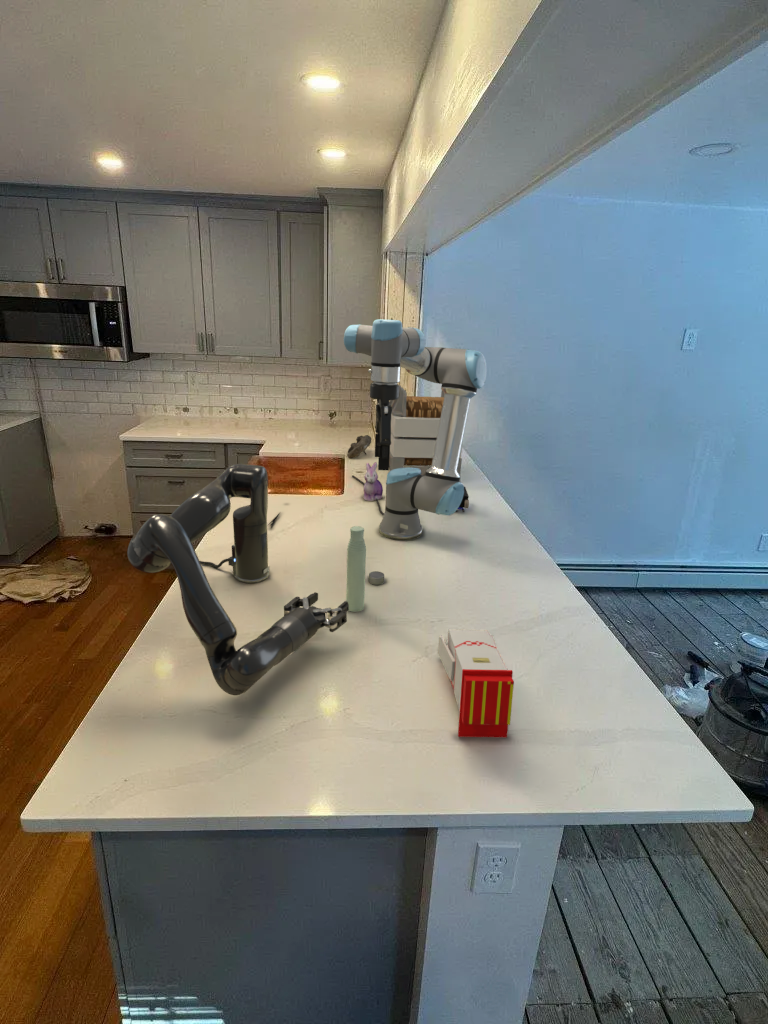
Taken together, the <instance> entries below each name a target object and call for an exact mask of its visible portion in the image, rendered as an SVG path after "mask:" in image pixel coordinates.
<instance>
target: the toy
mask: <svg viewBox="0 0 768 1024" xmlns="http://www.w3.org/2000/svg"><path fill="white" fill-rule="evenodd" d="M446 640H447V643H446V641H445V639H444V636H443V635H442V634H439V637H438V646H437V656H438V657H439V659H440V661H441V663H442V666H443V668H444V670H445V672H446V674H447V677H448V679H449V681H450V684H451V687H452V690H453V693H454V697H455V701H456V705H457V708H458V711H459V714H458V715H459V716H458V730H457V731H458V732H457V737H458V738H508V731H509V726H510V725H511V717H512V707H513V697H514V696H513V695H514V684H515V680H514V679H513V673H514V671H513V670H512V669H508V667H507V665H506V662H505V661H504V659H503V658H502V655H501V653H500V651H499V649H498V647H497V643H496V639H495V637H494V635H493V634H491V632H490V631H489V629H467V628H466V629H465V628H463V629H461V628H460V629H459V628H448V630H447V639H446Z"/></svg>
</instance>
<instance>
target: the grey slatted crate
mask: <svg viewBox="0 0 768 1024" xmlns="http://www.w3.org/2000/svg"><path fill="white" fill-rule="evenodd" d="M398 385H399V384H398ZM440 393H441V394H440V396H415V395H414V396H413V395H412V396H411V395H407V394H408V393H407V390H406V389H404V388H403V387H402V385H399V398H398V399H396V400H390V401H389V405H391V407H392V413H391V445H390V456H389V472H390V471H391V470H393V469H397V468H405V466H406V467H409V466H411V467H415V466H416V467H417V466H418V467H431V466H432V460H433V455H434V449H435V444H436V439H437V433H438V428H439V422H440V417H441V412H442V406H443V401H444V392H443V391H442V390H441V392H440ZM463 442H464V440H463V441H462V444H463ZM462 453H463V445H462V446H461V452H460V457H459V462H458V467H457V472H458V474H459V476H460V477H461V472H462V461H463V460H462ZM459 482H461V480H460V481H459Z"/></svg>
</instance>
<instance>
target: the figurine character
mask: <svg viewBox="0 0 768 1024" xmlns="http://www.w3.org/2000/svg"><path fill="white" fill-rule="evenodd" d="M469 498H470V496H469V494H468V491H467V488H466V486H464V495H463V499H462V501H461V504H460V506H459V507H458V509H457V510H456V511H455V513H458V510H461V511H462V513H465V509H469V506H470V500H469Z"/></svg>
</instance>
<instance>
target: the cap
mask: <svg viewBox="0 0 768 1024" xmlns="http://www.w3.org/2000/svg"><path fill="white" fill-rule="evenodd" d="M367 577H368V578H367V579H368V580H367V581H368V583H369V584H372V585H375V586H378V585H382V584H384V583H385V573H384V572H382V571H378V570H377V571H370V572H369V573H368V576H367Z"/></svg>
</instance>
